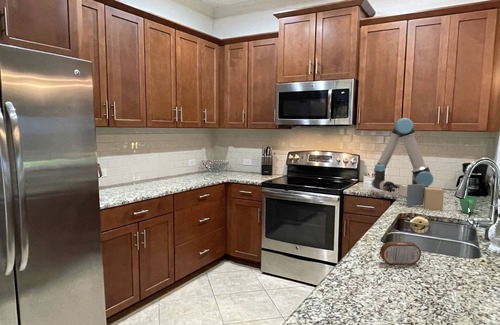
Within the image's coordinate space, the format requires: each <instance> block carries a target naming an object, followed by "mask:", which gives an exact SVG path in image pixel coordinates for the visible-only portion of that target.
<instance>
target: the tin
mask: <svg viewBox="0 0 500 325" xmlns="http://www.w3.org/2000/svg"><path fill="white" fill-rule="evenodd" d="M379 256H380V258H381V259H382V260H383V261H384V262H385V263H387V264H389V265H404V264H407V265H408V266H409V265H410V266H411V265H414V264H417V262H419V261H420V259H421V257H422V251H421V248H420V247H419V246H418V245H417V244H416V243H415V242H413V241H387V242H385V243H383V245H381V247H380V249H379Z"/></svg>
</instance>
